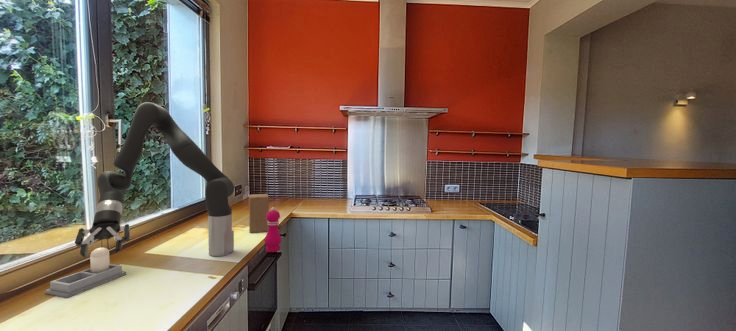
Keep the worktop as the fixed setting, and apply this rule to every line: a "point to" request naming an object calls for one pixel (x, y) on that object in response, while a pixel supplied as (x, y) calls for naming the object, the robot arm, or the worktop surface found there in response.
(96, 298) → the worktop surface
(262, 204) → the wooden block
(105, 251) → the cream capsule shape
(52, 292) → the grey divided tray
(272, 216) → the pepper mill
